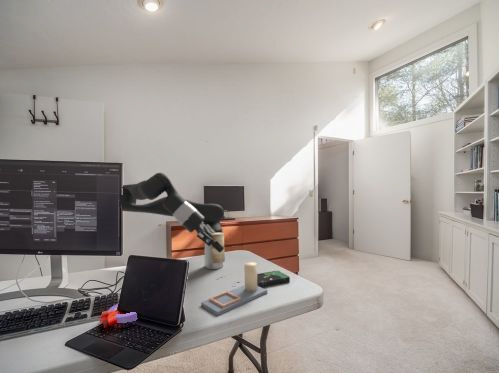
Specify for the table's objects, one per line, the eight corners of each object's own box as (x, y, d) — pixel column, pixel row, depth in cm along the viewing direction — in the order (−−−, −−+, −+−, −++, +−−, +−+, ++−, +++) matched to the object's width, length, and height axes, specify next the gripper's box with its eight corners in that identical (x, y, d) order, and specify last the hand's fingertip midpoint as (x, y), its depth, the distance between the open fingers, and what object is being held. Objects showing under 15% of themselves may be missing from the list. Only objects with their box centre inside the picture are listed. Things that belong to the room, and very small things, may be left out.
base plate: (201, 305, 92) (200, 274, 92) (250, 285, 108) (249, 259, 108) (217, 315, 85) (216, 282, 84) (267, 292, 101) (266, 264, 101)
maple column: (208, 261, 94) (207, 234, 94) (219, 258, 97) (218, 232, 97) (216, 264, 90) (215, 236, 90) (227, 261, 93) (226, 233, 93)
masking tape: (106, 333, 77) (105, 320, 77) (108, 315, 87) (108, 304, 87) (147, 323, 82) (147, 311, 82) (145, 307, 92) (145, 296, 92)
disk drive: (259, 289, 105) (290, 282, 111) (259, 283, 105) (290, 276, 111) (249, 281, 115) (278, 275, 121) (249, 275, 115) (278, 269, 121)
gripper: (186, 221, 100) (218, 250, 101) (176, 227, 86) (213, 262, 86) (199, 207, 100) (231, 236, 101) (191, 211, 86) (228, 246, 86)
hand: (222, 248), depth 93 cm, fingers closed on maple column, 5 cm apart
